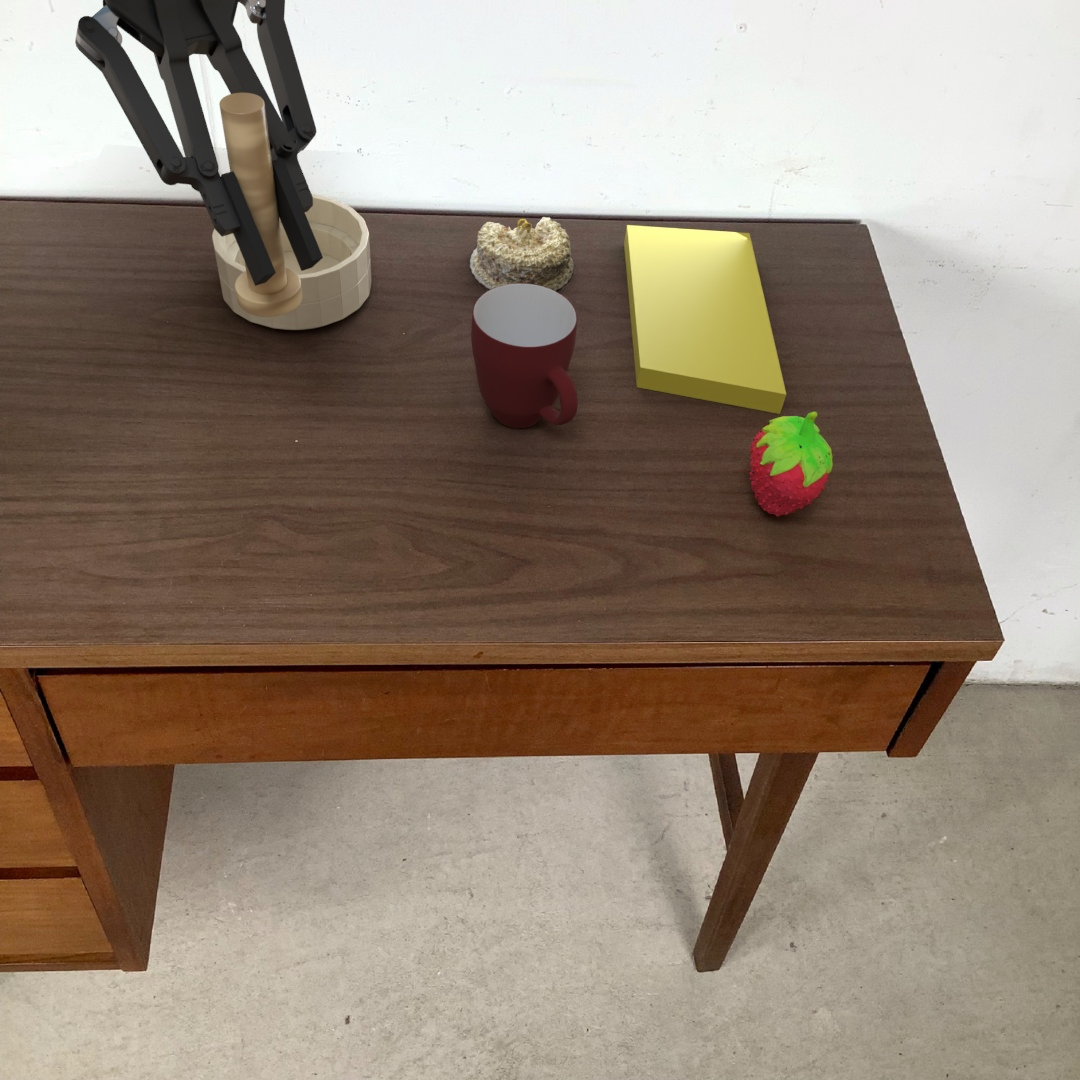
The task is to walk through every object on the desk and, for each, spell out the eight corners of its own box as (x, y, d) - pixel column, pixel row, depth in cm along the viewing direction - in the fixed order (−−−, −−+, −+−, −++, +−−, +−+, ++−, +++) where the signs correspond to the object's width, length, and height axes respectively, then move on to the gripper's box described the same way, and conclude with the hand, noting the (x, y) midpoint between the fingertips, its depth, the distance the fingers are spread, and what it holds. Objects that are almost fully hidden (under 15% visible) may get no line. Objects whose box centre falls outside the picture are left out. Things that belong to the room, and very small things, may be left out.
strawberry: (806, 474, 86) (842, 379, 78) (816, 543, 81) (855, 448, 74) (735, 467, 86) (764, 371, 78) (740, 536, 81) (772, 440, 73)
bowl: (263, 354, 91) (254, 296, 86) (198, 275, 97) (187, 217, 93) (398, 307, 96) (396, 250, 92) (327, 235, 103) (322, 178, 99)
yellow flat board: (624, 244, 106) (638, 405, 90) (627, 225, 104) (642, 386, 88) (744, 252, 106) (779, 414, 91) (749, 233, 105) (786, 394, 89)
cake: (589, 292, 101) (596, 246, 97) (489, 311, 98) (493, 265, 94) (550, 228, 106) (556, 181, 102) (455, 244, 103) (456, 197, 99)
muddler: (254, 324, 72) (222, 127, 61) (226, 290, 74) (191, 95, 63) (313, 305, 74) (292, 110, 63) (284, 272, 76) (259, 79, 65)
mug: (607, 431, 88) (624, 334, 80) (539, 477, 83) (549, 379, 76) (517, 368, 92) (525, 270, 85) (448, 409, 88) (449, 309, 80)
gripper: (241, -89, 71) (377, 251, 75) (-1, -51, 64) (163, 321, 68) (267, -156, 64) (415, 222, 68) (0, -121, 58) (181, 296, 62)
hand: (288, 271), depth 68 cm, fingers closed on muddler, 3 cm apart
